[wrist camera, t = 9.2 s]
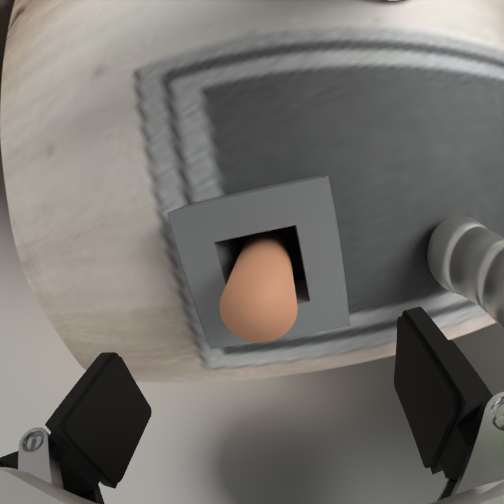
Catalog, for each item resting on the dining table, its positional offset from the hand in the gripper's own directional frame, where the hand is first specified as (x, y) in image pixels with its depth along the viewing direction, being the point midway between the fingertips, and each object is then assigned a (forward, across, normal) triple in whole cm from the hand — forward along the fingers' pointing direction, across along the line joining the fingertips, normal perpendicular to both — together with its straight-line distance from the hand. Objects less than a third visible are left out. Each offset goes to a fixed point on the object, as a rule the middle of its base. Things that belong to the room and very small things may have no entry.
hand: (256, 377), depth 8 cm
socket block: (+16, +1, +1) cm, 16 cm away
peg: (+16, +1, +1) cm, 16 cm away
